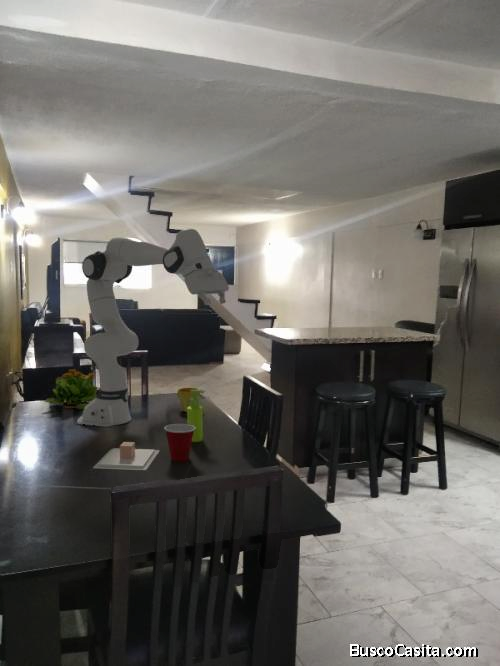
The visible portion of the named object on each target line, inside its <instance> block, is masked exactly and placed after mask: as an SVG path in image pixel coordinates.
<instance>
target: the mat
mask: <svg viewBox="0 0 500 666" xmlns="http://www.w3.org/2000/svg"><path fill="white" fill-rule="evenodd" d="M113 449H114V448H110V450H108V452H107V453H106V454H104V455H103V457H101V459H99V461H97V463H95V465H94V466H93V467H92V469H99V470H100V469H102V470H103V469H104V470H126V471H127V470H129V471H131V470H134V471H147V469H149V467H150V466H151V464H152V462H153V461H154V460H155V458H156V457H157V455H158V454H159V452H160V450H159V449H154V450H155V452H154V453H153V455H152V456H151V458H150V459H149V460H148V462H147V463H146V464H145V466H144V467H143V468H126V467H99V466H98V464H99V463H100V462H101V461H102V460H103V459H104V458H105V457H106V456H107V455H108V454H109V453H110V452H111V451H112V450H113Z"/></svg>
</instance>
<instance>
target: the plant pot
mask: <svg viewBox="0 0 500 666" xmlns="http://www.w3.org/2000/svg"><path fill="white" fill-rule="evenodd" d="M195 389H198V390H200V388H196V387H182V388H178V389H177V391H176V392H177V394H176V395H177V398H178V400H179V404H180V409H181V411H182V412H184V413H187V407H189V406H190V399H191V398H192V397H193V392H191V390H195ZM200 395H201V393H200V392H197V397H198V398H199V399H200V397H201V396H200Z"/></svg>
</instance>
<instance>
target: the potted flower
mask: <svg viewBox="0 0 500 666" xmlns="http://www.w3.org/2000/svg"><path fill="white" fill-rule="evenodd" d="M94 378H95V373H93V372H89V373H88V374H87V375H85V374H83V373H82V372H81V371H78V370H76V369H75V368H73V369H68V372H65V373H64V374H62V376H58V377H56V379H54V380H55V388H53V389H52V392H53V394H54V395H55V396H56V398H55V397H50V398H46V399H45V400H44V401H43V402H45V403H48V404H56V405H61V406H63V407H65V408H64V409H66V408H76V409H77V410H84V408H85V406H86V405H88V404H89V403H90V402H91V401H92V400H94V399H95V398H96V397H97V396H96V395H95V392H96V391H97V390H98V389H99V388H98V387H97V386H95V385H94V384H92V383H93V379H94ZM63 407H62V408H63Z"/></svg>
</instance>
